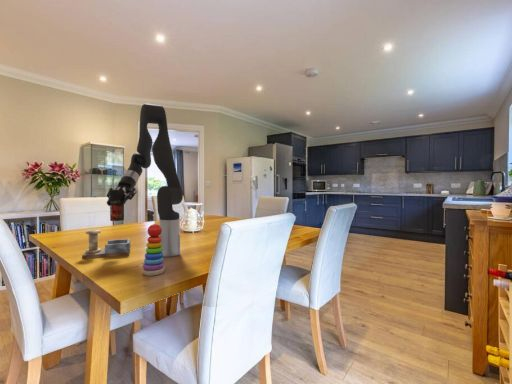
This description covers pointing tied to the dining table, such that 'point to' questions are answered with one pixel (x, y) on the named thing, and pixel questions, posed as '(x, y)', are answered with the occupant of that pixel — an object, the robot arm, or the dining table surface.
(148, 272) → the stacking toy
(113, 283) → the dining table surface
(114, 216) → the deodorant
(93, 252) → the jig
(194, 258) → the dining table surface
